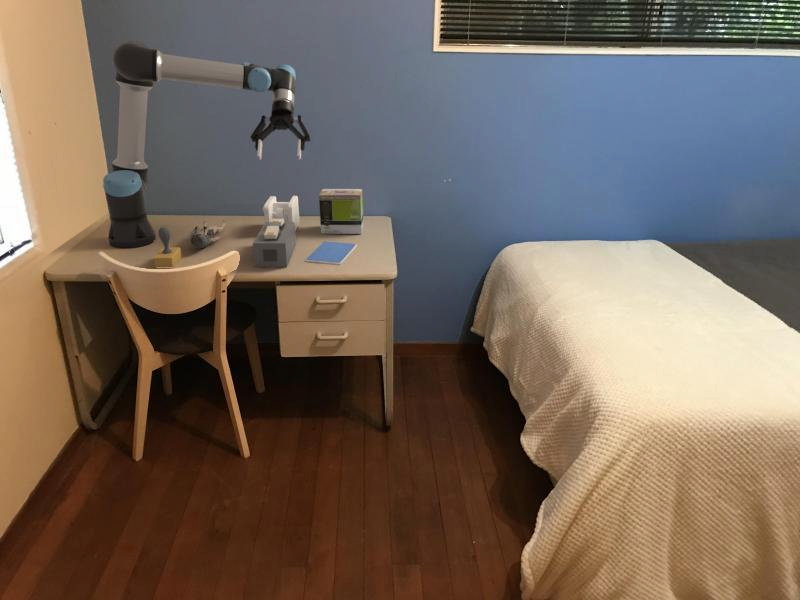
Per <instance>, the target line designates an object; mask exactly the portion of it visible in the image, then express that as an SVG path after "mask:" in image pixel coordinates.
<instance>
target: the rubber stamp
mask: <svg viewBox="0 0 800 600" xmlns="http://www.w3.org/2000/svg"><path fill="white" fill-rule="evenodd" d="M158 237H159V240H160V241H161V243H162V245H163V247H162V248H161V249H160V250H159V251H158V253H157V254H156V255H155V256H154V257H153V263H154V268H155V267H174V266H175V265H176V266H177V264H178V263H179V262H178V261H180V260H181V259H182V257H183V256H182V249H181V247H178V246H176V247H175V246H174V247H170V246H169V242H170V240H171V239H170V238H171V232H170V229H169V228H168V227H166V226H162V227H160V228H159V229H158ZM177 262H178V263H177ZM176 266H175V267H176ZM175 267H174V268H175Z"/></svg>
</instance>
